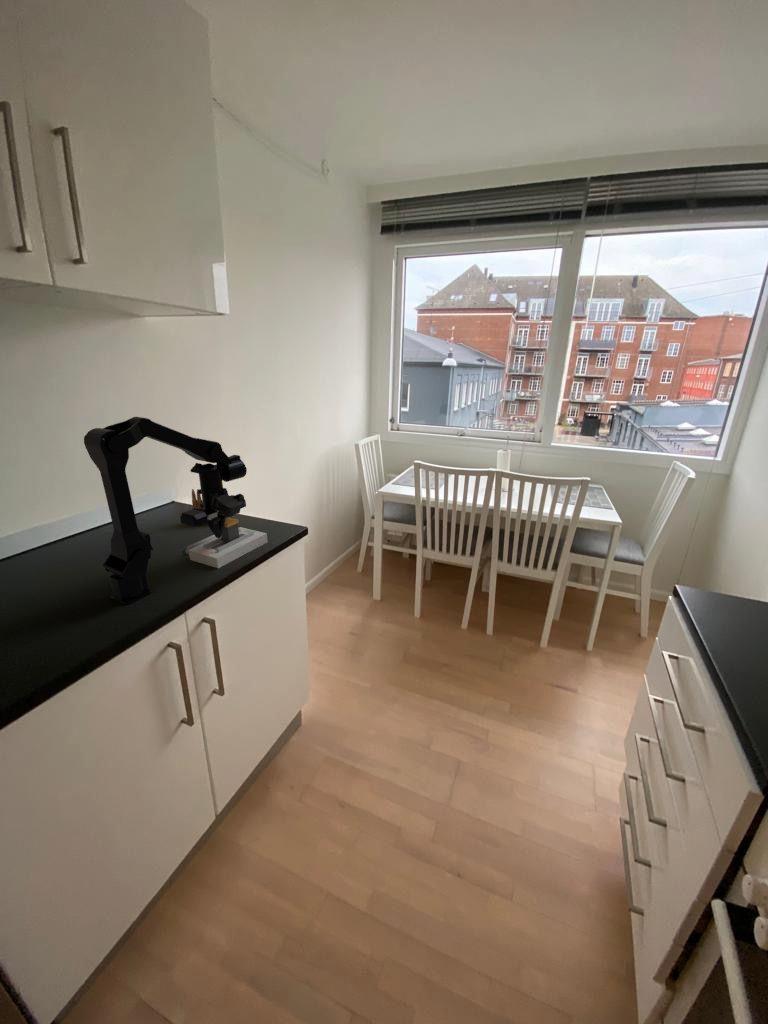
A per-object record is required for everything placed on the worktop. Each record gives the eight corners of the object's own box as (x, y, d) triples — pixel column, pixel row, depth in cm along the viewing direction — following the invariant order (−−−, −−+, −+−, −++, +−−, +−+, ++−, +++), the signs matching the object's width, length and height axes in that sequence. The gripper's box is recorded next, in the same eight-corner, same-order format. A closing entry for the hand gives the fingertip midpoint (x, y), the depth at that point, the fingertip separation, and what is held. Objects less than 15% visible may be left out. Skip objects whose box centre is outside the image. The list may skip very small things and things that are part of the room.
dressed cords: (189, 555, 122) (188, 550, 122) (181, 552, 124) (180, 548, 123) (231, 535, 136) (231, 531, 136) (224, 533, 138) (224, 529, 137)
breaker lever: (229, 543, 122) (227, 524, 120) (220, 541, 124) (218, 522, 122) (240, 538, 126) (238, 519, 124) (232, 535, 128) (229, 517, 125)
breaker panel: (218, 568, 115) (216, 555, 114) (190, 559, 120) (188, 547, 118) (267, 542, 132) (266, 530, 131) (241, 535, 136) (239, 524, 135)
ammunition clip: (193, 522, 147) (188, 489, 142) (196, 520, 148) (191, 488, 144) (223, 523, 146) (219, 490, 142) (225, 521, 148) (221, 488, 144)
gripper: (205, 499, 104) (213, 556, 109) (257, 481, 120) (262, 531, 125) (174, 493, 108) (183, 547, 114) (228, 476, 124) (234, 525, 130)
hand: (218, 537), depth 120 cm, fingers closed
